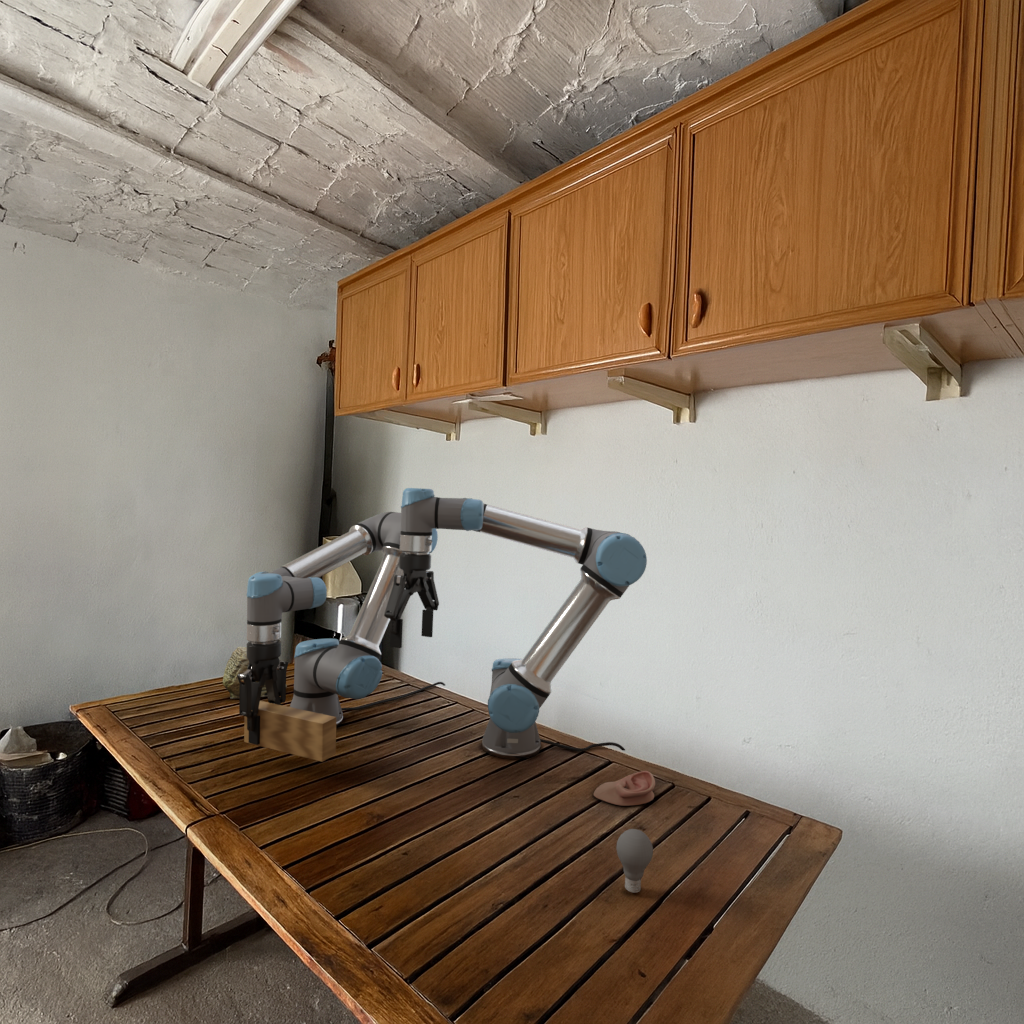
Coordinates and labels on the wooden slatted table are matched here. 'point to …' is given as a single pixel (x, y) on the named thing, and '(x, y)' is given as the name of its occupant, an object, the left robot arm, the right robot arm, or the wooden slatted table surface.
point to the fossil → (237, 672)
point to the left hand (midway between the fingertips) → (262, 738)
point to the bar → (295, 731)
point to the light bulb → (634, 857)
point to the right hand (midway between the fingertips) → (411, 641)
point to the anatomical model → (628, 790)
